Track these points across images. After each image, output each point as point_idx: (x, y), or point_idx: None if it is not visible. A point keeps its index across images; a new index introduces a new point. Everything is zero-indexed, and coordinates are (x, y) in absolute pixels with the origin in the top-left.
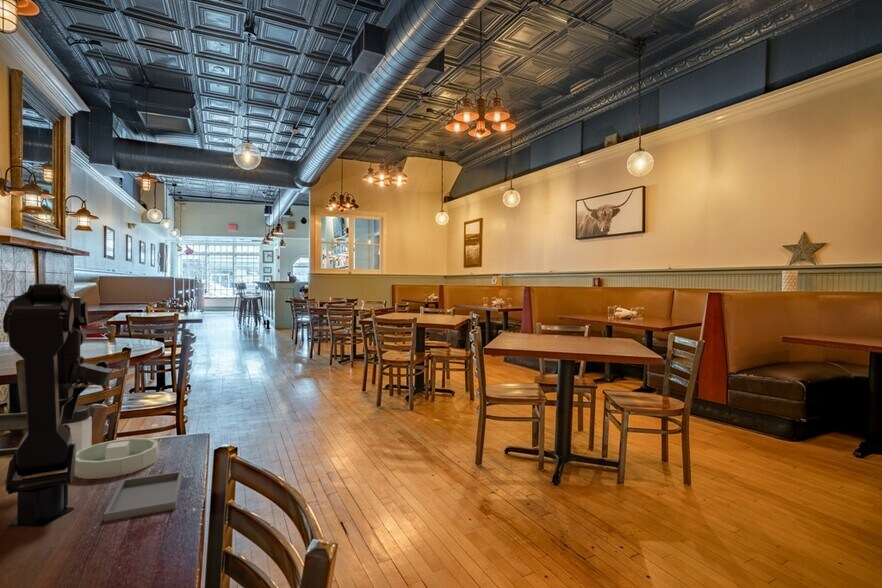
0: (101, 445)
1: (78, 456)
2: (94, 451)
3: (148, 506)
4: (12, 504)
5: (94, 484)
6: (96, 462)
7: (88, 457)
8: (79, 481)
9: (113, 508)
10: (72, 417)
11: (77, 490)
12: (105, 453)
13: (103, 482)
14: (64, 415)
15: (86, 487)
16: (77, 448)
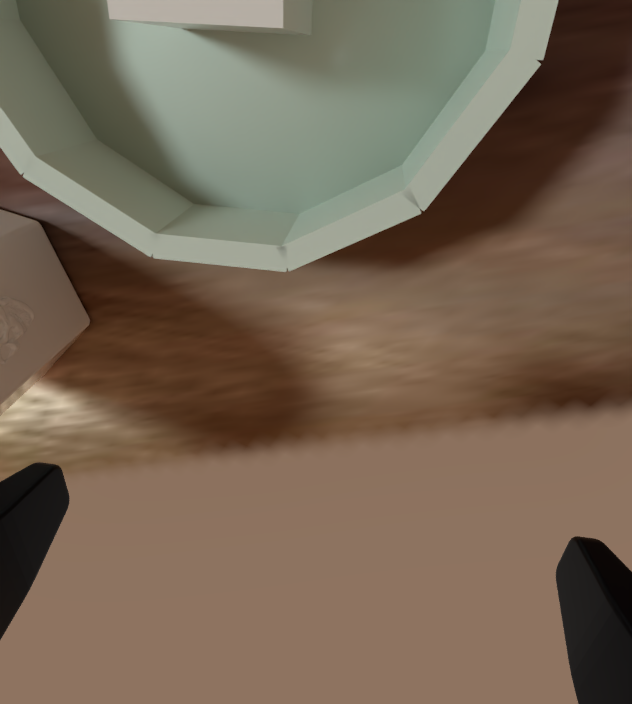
0: (12, 110)
1: (228, 234)
2: (69, 151)
3: None
4: (589, 399)
5: (574, 65)
6: (534, 69)
7: (127, 178)
8: None
9: None
10: (36, 468)
11: (616, 155)
12: (292, 29)
13: (576, 4)
14: (43, 555)
15: (599, 109)
16: (3, 266)
